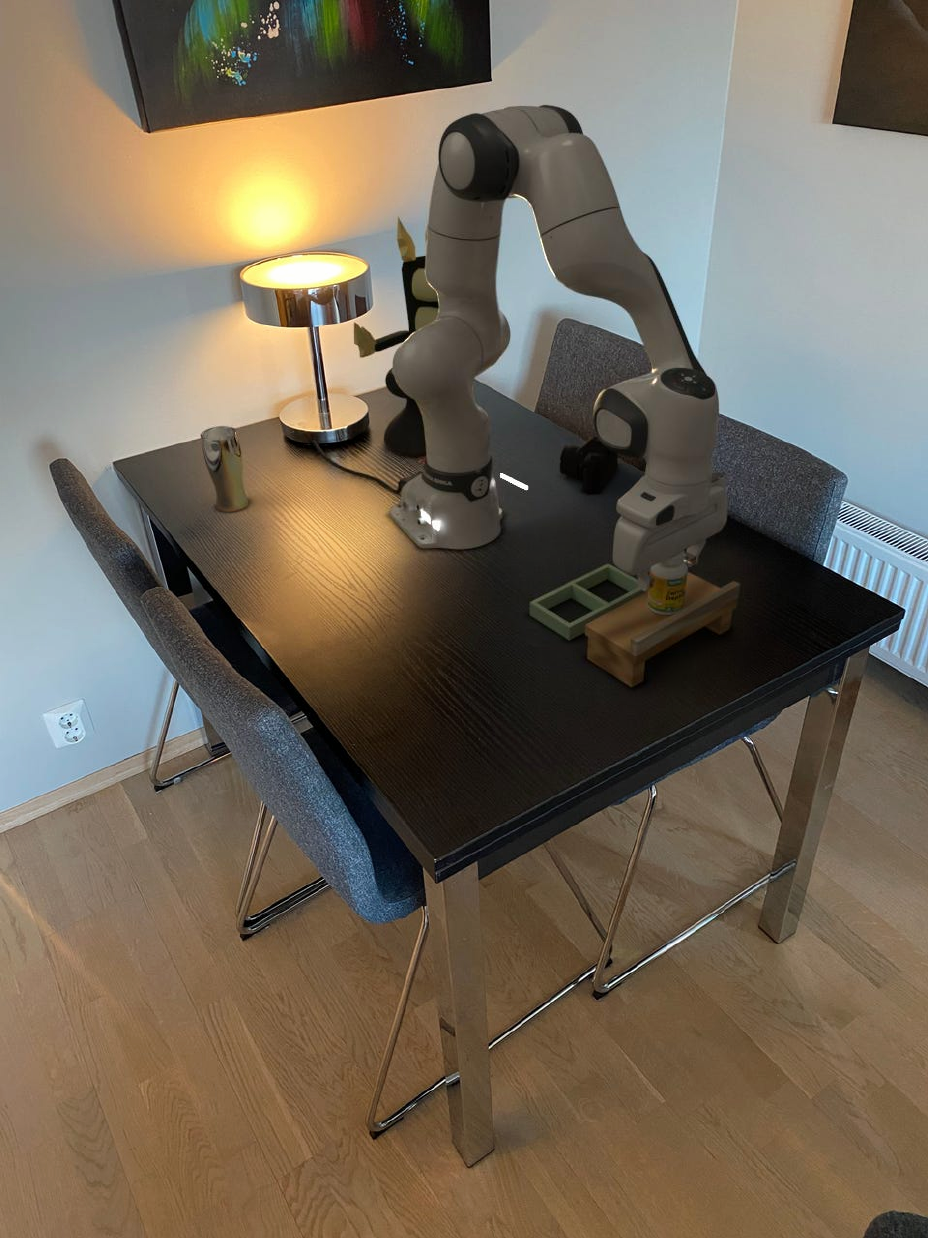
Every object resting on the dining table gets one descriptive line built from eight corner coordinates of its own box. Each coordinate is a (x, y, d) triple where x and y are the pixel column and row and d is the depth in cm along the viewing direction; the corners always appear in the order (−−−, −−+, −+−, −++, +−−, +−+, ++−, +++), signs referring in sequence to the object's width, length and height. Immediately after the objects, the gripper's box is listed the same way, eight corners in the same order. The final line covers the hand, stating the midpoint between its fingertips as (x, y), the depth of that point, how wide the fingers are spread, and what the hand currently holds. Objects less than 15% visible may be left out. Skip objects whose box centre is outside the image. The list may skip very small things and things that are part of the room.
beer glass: (207, 510, 183) (191, 438, 174) (227, 494, 188) (213, 423, 179) (238, 515, 180) (223, 442, 172) (257, 499, 186) (244, 427, 177)
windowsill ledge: (583, 657, 140) (585, 611, 135) (682, 602, 151) (687, 557, 146) (633, 690, 134) (637, 642, 129) (733, 629, 144) (740, 583, 140)
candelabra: (363, 453, 201) (338, 230, 175) (408, 413, 218) (392, 205, 192) (443, 465, 195) (430, 236, 169) (484, 424, 211) (478, 209, 185)
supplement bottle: (665, 592, 143) (671, 537, 137) (691, 608, 139) (698, 552, 133) (639, 604, 140) (643, 548, 135) (664, 621, 137) (670, 564, 131)
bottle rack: (529, 615, 150) (529, 602, 148) (607, 575, 158) (608, 563, 157) (569, 640, 144) (569, 627, 142) (647, 598, 152) (648, 585, 151)
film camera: (577, 457, 196) (578, 416, 190) (622, 464, 192) (624, 423, 187) (551, 489, 184) (552, 446, 179) (599, 497, 181) (601, 454, 176)
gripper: (708, 460, 136) (698, 543, 144) (607, 505, 126) (602, 592, 134) (744, 474, 132) (731, 559, 140) (642, 523, 122) (635, 611, 130)
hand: (667, 576), depth 137 cm, fingers open, 8 cm apart
